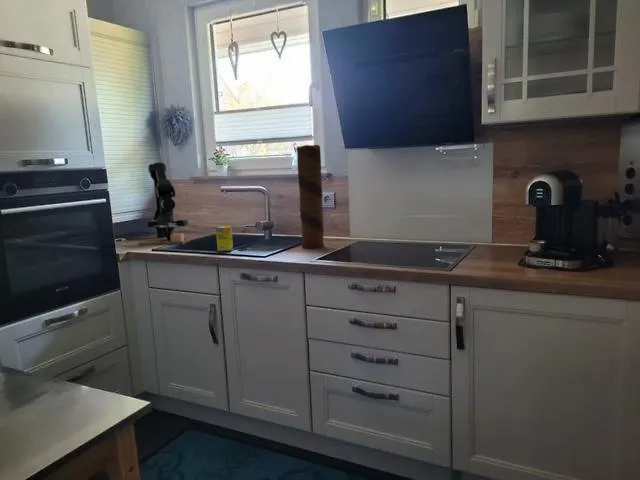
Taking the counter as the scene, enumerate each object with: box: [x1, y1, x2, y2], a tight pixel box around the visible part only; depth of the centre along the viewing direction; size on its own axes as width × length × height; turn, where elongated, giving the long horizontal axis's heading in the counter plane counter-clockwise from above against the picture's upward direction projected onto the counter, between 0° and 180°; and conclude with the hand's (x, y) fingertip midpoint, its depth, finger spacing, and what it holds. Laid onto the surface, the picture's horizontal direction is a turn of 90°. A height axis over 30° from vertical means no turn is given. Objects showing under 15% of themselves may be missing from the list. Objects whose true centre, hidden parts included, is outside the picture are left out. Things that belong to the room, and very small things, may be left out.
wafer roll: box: [296, 144, 325, 249], centre depth 229 cm, size 10×11×45 cm
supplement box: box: [215, 225, 234, 253], centre depth 230 cm, size 6×6×11 cm
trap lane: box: [137, 237, 191, 247], centre depth 256 cm, size 12×22×2 cm, turn 87°
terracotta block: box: [170, 233, 185, 242], centre depth 255 cm, size 5×5×4 cm
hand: (168, 240), depth 255 cm, fingers closed
